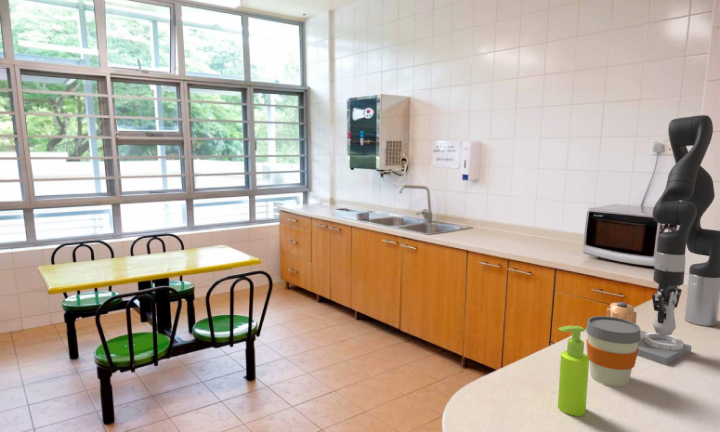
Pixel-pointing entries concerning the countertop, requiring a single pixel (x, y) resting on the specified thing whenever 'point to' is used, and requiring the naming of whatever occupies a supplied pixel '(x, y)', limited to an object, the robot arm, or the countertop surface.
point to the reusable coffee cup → (612, 349)
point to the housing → (651, 338)
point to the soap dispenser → (573, 374)
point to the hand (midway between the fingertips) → (664, 322)
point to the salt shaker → (667, 325)
